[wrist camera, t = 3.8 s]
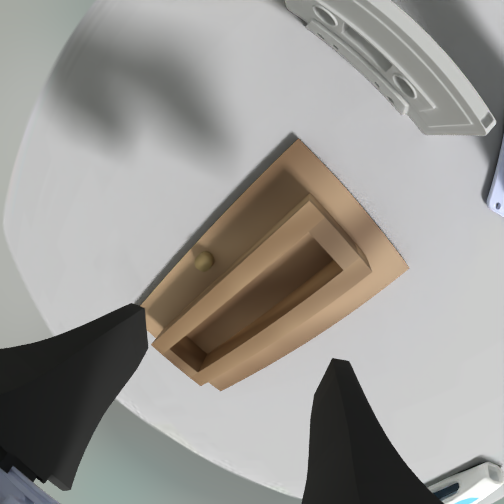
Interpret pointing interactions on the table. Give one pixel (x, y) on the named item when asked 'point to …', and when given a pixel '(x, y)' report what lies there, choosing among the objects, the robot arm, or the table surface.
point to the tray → (270, 274)
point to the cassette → (399, 63)
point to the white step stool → (471, 484)
